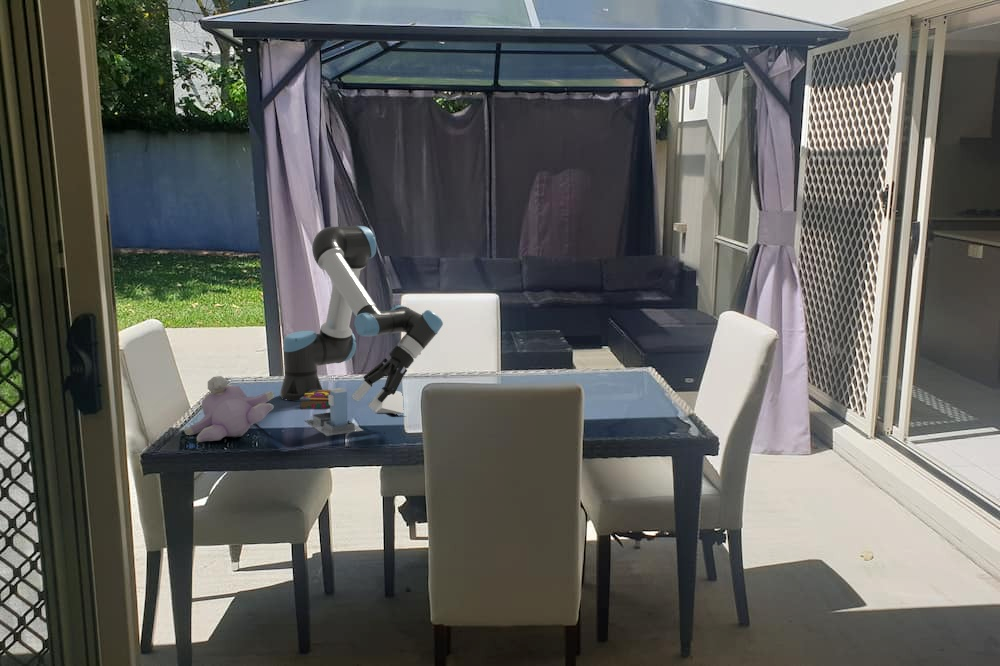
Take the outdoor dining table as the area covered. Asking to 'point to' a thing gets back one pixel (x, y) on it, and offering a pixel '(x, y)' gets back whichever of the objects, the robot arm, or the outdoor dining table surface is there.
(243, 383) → the outdoor dining table surface
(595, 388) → the outdoor dining table surface
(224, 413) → the toy
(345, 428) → the panel
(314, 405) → the decorative book
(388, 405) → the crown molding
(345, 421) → the plug
